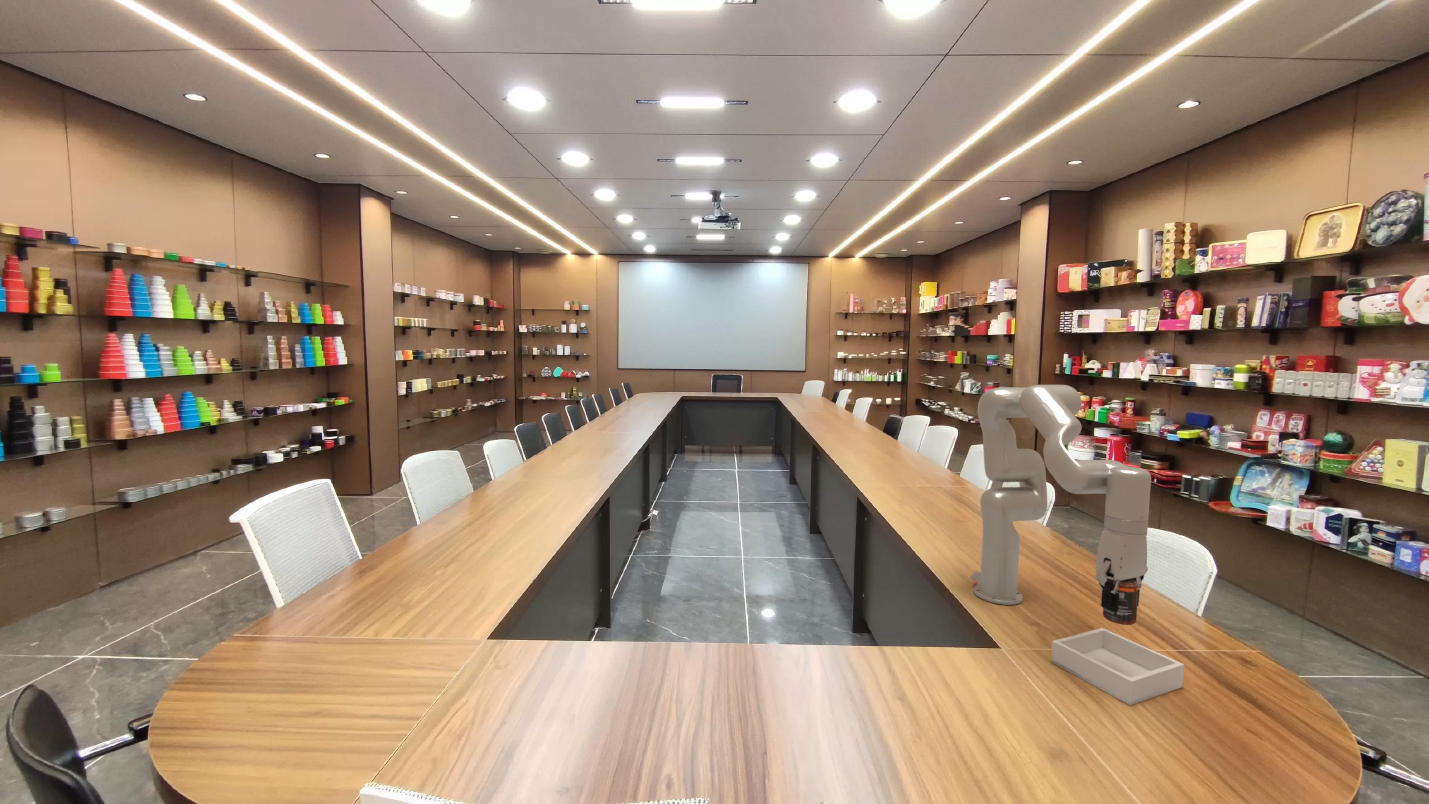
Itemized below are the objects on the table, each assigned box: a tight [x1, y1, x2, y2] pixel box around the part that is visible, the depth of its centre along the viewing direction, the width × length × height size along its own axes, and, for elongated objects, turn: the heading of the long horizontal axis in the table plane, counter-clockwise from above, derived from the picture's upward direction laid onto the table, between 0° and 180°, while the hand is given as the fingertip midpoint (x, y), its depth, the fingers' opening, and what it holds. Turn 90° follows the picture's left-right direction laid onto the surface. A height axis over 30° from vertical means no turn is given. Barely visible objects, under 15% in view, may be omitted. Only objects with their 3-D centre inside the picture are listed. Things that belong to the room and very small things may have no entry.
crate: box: [1050, 627, 1185, 706], centre depth 124 cm, size 17×17×5 cm
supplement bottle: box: [1102, 574, 1139, 626], centre depth 123 cm, size 6×6×11 cm
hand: (1119, 606), depth 123 cm, fingers closed on supplement bottle, 6 cm apart
